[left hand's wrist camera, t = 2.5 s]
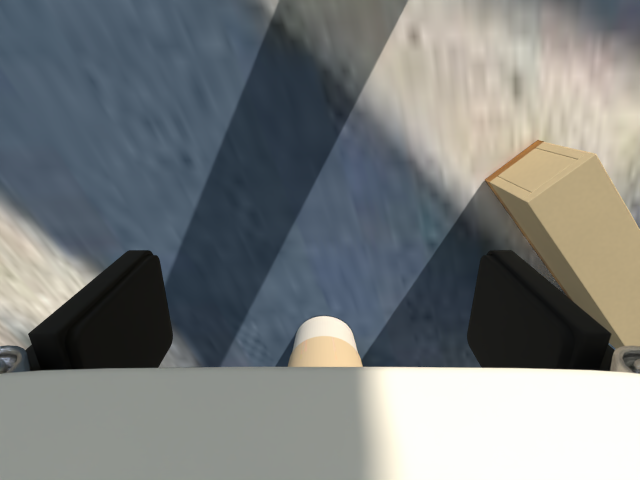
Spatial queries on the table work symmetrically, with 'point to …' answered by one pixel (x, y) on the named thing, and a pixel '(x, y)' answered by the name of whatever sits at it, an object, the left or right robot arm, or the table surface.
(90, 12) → the table surface
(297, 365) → the coffee cup
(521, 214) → the tan long block
